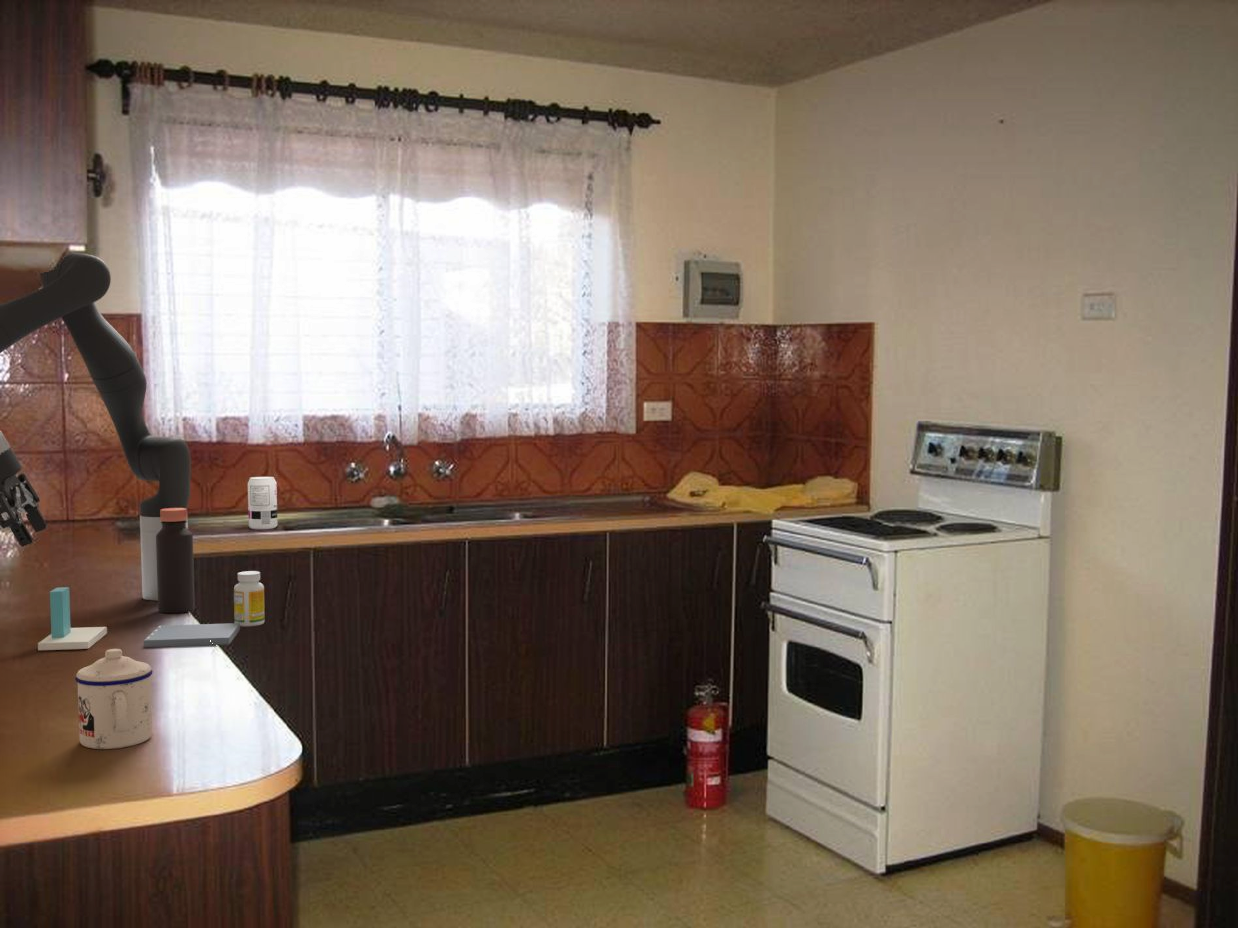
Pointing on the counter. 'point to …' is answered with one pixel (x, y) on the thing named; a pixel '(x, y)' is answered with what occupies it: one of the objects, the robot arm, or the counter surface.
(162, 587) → the vinegar
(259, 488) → the supplement can
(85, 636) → the teal block on base
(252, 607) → the supplement bottle
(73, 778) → the counter surface
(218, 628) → the board
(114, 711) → the teacup with lid
